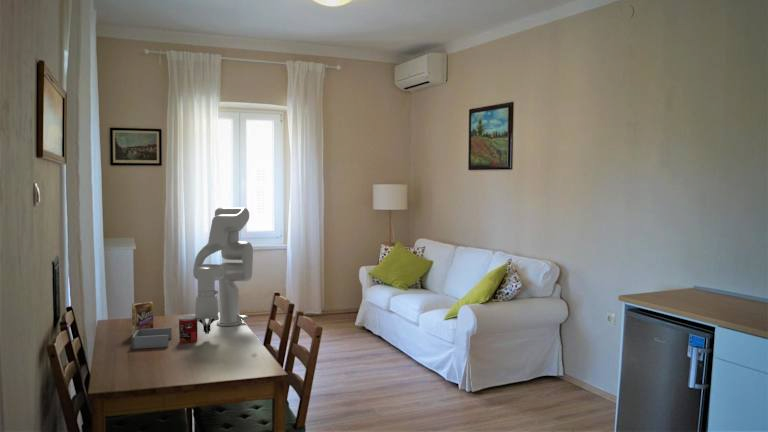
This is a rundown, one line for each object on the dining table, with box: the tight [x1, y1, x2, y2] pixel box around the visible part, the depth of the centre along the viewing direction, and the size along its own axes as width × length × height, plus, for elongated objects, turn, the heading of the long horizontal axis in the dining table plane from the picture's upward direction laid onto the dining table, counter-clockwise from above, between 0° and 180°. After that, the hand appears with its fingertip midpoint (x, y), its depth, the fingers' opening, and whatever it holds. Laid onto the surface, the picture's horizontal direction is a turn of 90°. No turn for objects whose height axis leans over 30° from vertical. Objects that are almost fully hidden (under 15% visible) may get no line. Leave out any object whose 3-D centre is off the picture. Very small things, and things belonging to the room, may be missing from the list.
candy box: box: [131, 301, 154, 336], centre depth 281 cm, size 9×4×15 cm, turn 134°
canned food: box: [178, 315, 198, 344], centre depth 269 cm, size 8×8×11 cm
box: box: [131, 327, 173, 350], centre depth 265 cm, size 15×15×5 cm
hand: (207, 333), depth 271 cm, fingers closed
